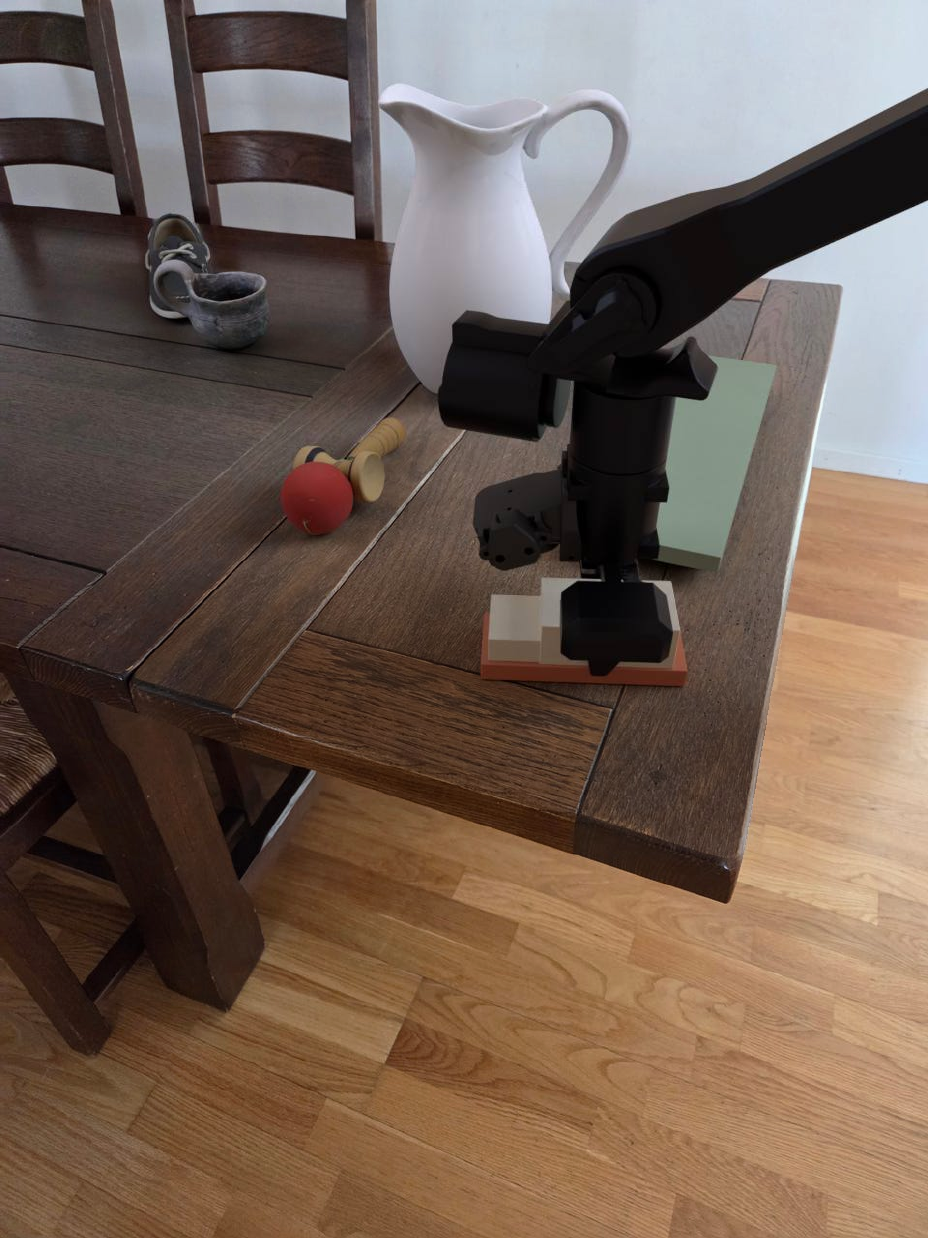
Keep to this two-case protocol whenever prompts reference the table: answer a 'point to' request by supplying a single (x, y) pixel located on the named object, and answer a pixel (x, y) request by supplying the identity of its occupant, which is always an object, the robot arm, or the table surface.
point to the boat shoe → (174, 258)
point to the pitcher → (480, 216)
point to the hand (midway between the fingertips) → (596, 645)
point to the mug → (219, 304)
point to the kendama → (337, 480)
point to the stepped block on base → (530, 643)
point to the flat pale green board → (711, 463)
